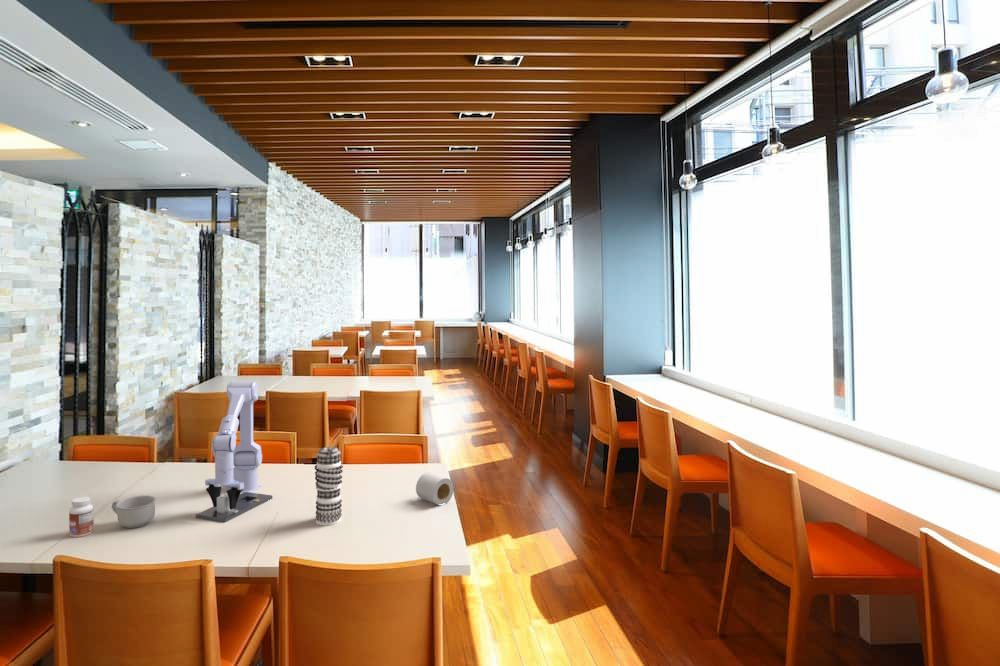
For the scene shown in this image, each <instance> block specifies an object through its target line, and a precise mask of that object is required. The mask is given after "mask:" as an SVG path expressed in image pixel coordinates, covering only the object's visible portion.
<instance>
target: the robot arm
mask: <svg viewBox="0 0 1000 666" xmlns="http://www.w3.org/2000/svg"><path fill="white" fill-rule="evenodd" d="M226 395H227V397H228V398H227V399H228V401H229V403H228V408H227V412H226V416H224V417H222V419H221V422H220V425H219V429H218V432H217V434H216V436H214V437H213V438H212V442H211V450H212V452H213V453H212V454H213V457H214V472H215V473H214V475H215V476H214V477H215V478H207V479H205V480H204V481H205V482H204V483H205V486H208V487H206V488H205V491H206V492H207V494H208V495H209V497H210V499H211V503H212V507H213V506H214V507H217V497H219V496H221V493H222V488H229V489H228V490H226V493H227V494H228V497H229V507H230V509H231V510H232V509H234V508H236V504H237V500H238V498H239V495H240V494H242V493H244V492H250V493H254V492H255V491H257V489H258V490H260V489H261V487H262V488H263V485H258V467H260V466H261V464H262V462H263V453H262V446H261V445H260V444H258V443H256V442H255V441H254V403H255V402H256V401H258V398H259V385H258V383H257V381H229V382H228V384H227V385H226ZM238 417H239V418H238ZM238 428H239V444H237V437H238V436H237V432H238ZM259 488H260V489H259Z"/></svg>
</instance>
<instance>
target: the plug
mask: <svg viewBox="0 0 1000 666" xmlns="http://www.w3.org/2000/svg"><path fill="white" fill-rule="evenodd" d="M232 510H233V509H232ZM229 511H231V509H230V507H229V497H228V494H227V492H226V493H224V494H222V495H220V496H219V497H217V513H223V514H224V513H226V512H229Z"/></svg>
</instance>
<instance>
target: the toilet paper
mask: <svg viewBox="0 0 1000 666" xmlns="http://www.w3.org/2000/svg"><path fill="white" fill-rule="evenodd" d="M415 492H416V495H417V496H418V498H420V499H421V500H425V501H426V502H430V503H432V504H435V505H437V506H440V505H439V504H443V503H446V502H448V503H449V502H450V500H451V499H452V497H453V496H454V495H453V494H454V483H453V481H452V480H451V479H449V478H447V477H445V476H441V475H438V474H436V473H432V472H424V473H423V474H421V475H420V477H419V478H418V480H417V482H416V485H415ZM446 504H447V503H446Z"/></svg>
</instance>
